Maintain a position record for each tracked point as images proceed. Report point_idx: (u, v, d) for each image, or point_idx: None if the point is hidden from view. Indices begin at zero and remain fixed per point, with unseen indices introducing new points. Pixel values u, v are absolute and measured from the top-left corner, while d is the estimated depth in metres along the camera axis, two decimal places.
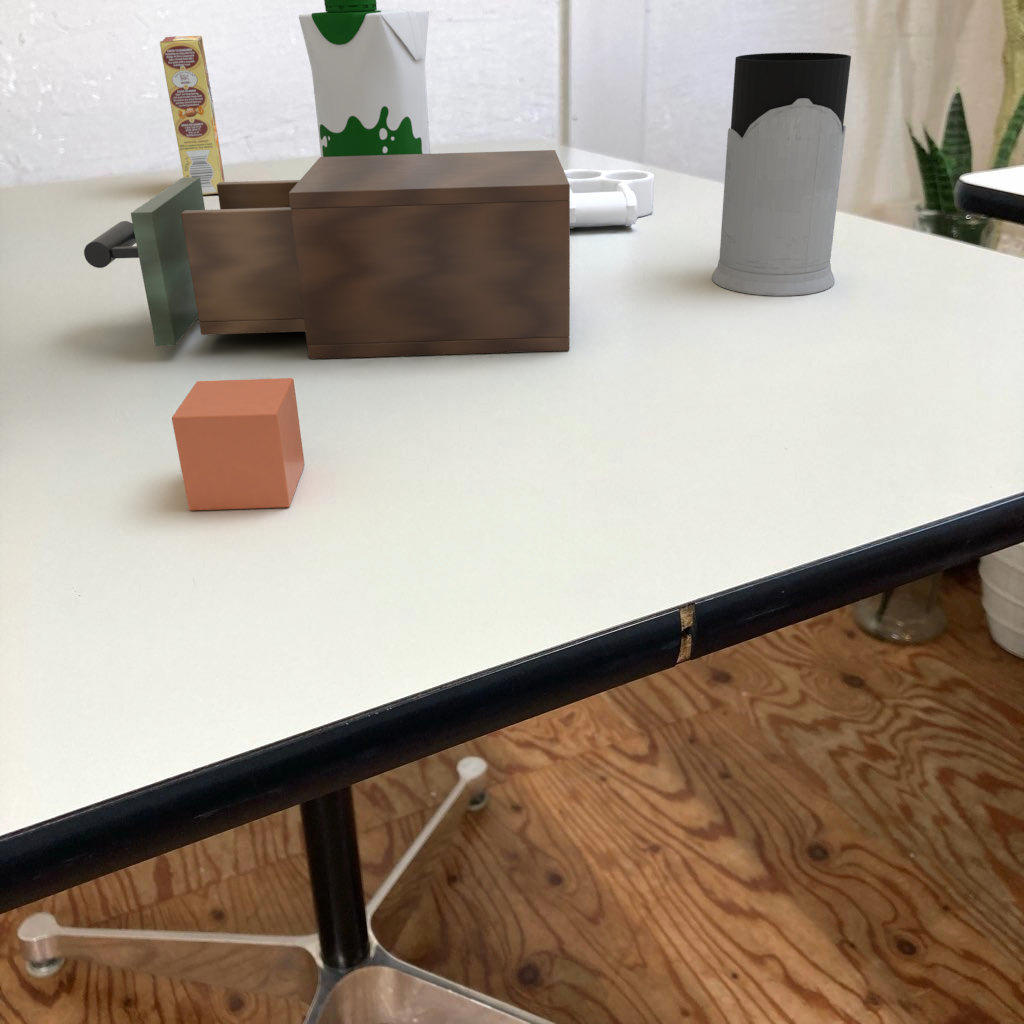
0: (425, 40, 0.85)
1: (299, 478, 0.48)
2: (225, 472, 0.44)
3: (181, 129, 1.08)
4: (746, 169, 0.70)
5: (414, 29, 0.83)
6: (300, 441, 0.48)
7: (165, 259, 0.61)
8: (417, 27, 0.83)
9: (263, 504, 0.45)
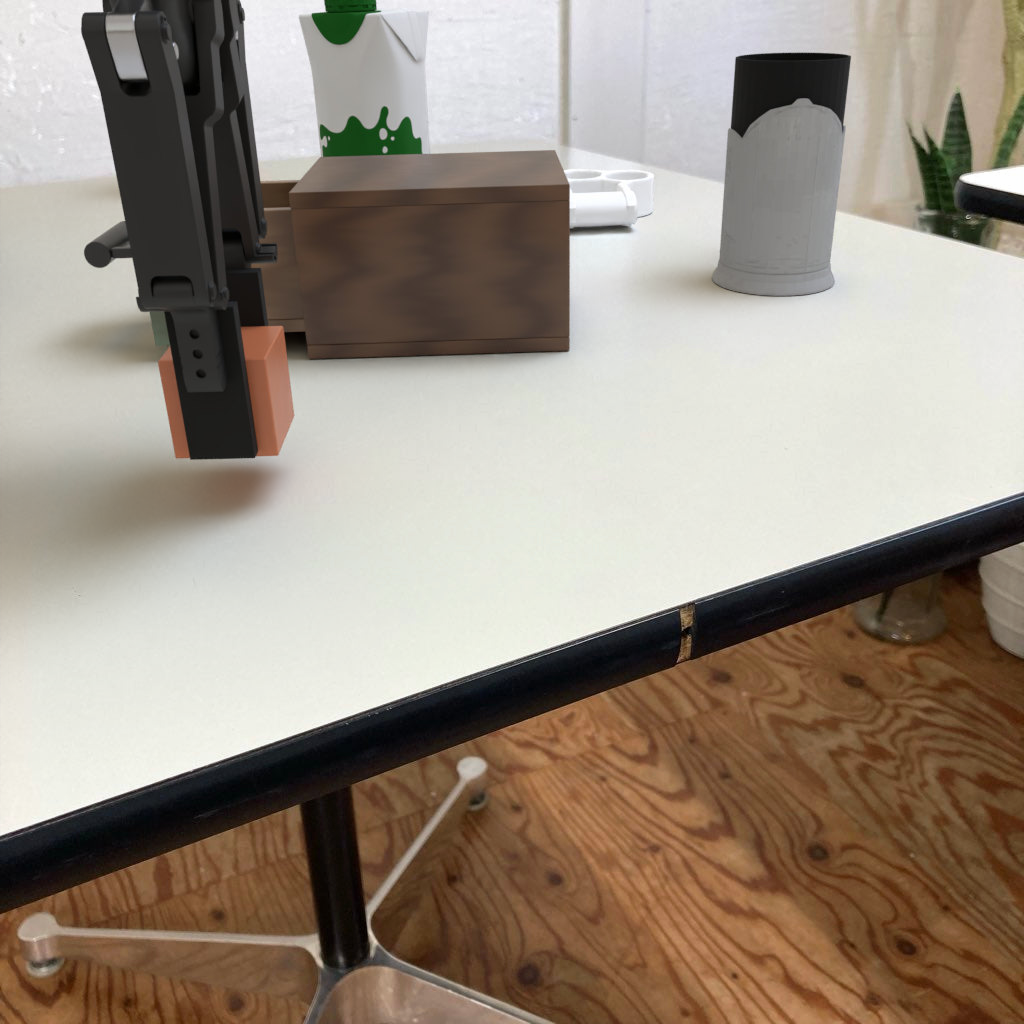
0: (425, 40, 0.85)
1: (288, 428, 0.47)
2: None
3: None
4: (746, 169, 0.70)
5: (414, 29, 0.83)
6: (290, 391, 0.47)
7: None
8: (417, 27, 0.83)
9: None
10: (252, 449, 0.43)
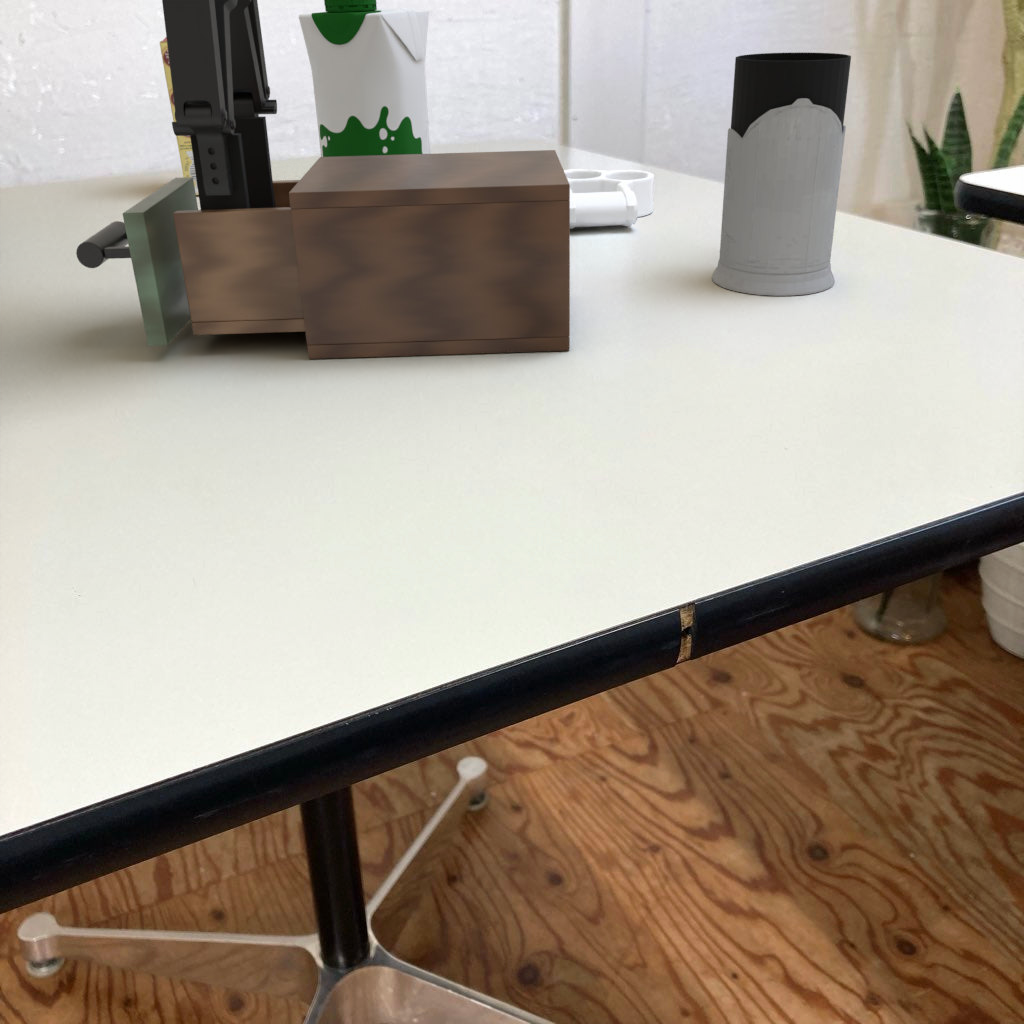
0: (425, 40, 0.85)
1: None
2: None
3: None
4: (746, 169, 0.70)
5: (414, 29, 0.83)
6: None
7: (157, 259, 0.61)
8: (417, 27, 0.83)
9: None
10: None
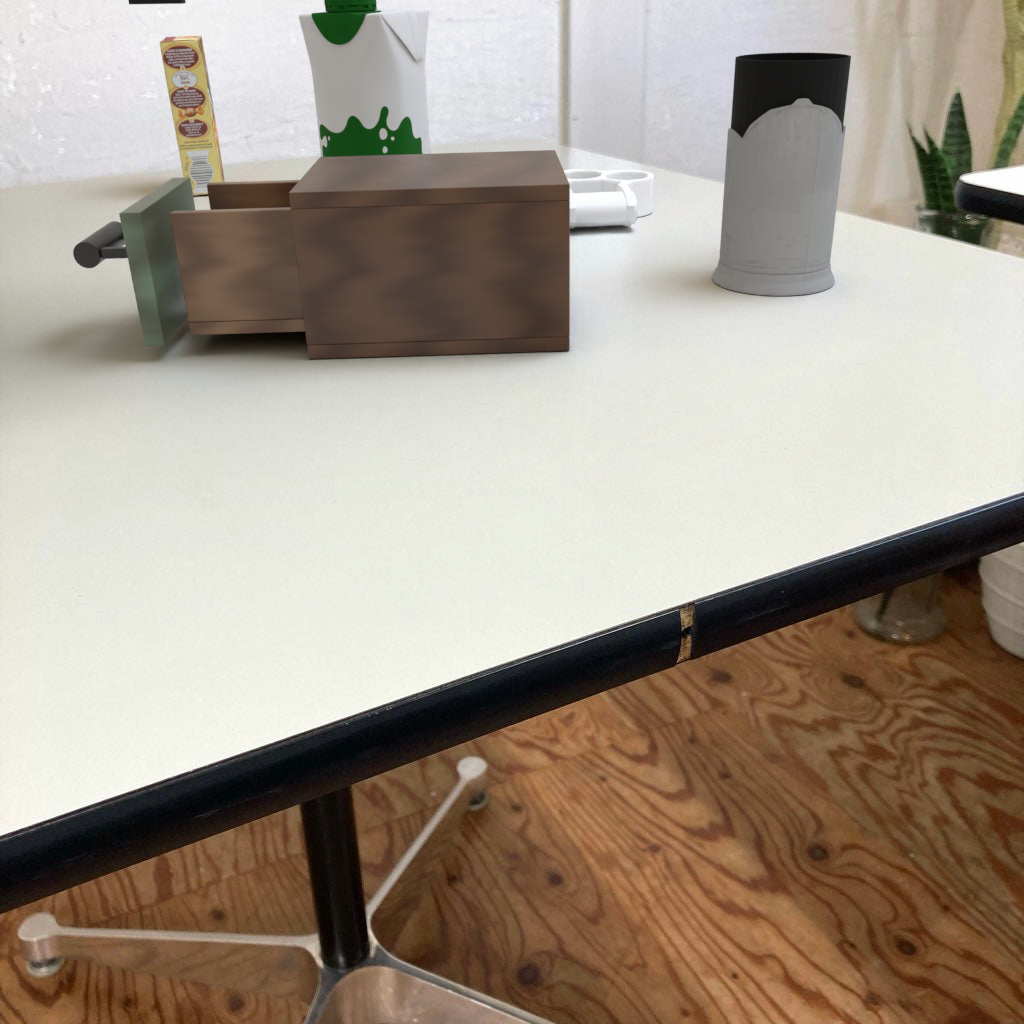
0: (425, 40, 0.85)
1: None
2: None
3: (181, 129, 1.08)
4: (746, 169, 0.70)
5: (414, 29, 0.83)
6: None
7: (154, 259, 0.61)
8: (417, 27, 0.83)
9: None
10: None
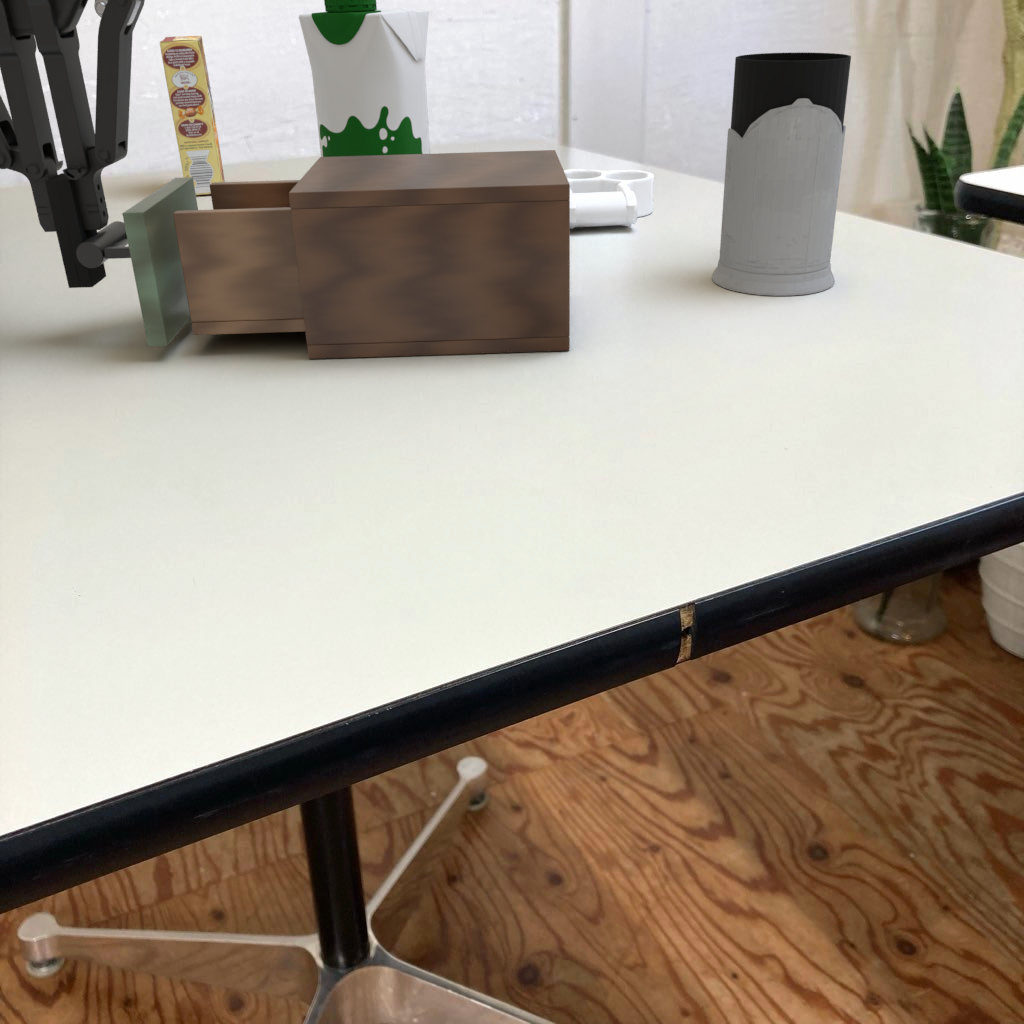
0: (425, 40, 0.85)
1: None
2: None
3: (181, 129, 1.08)
4: (746, 169, 0.70)
5: (414, 29, 0.83)
6: None
7: (157, 259, 0.61)
8: (417, 27, 0.83)
9: None
10: None
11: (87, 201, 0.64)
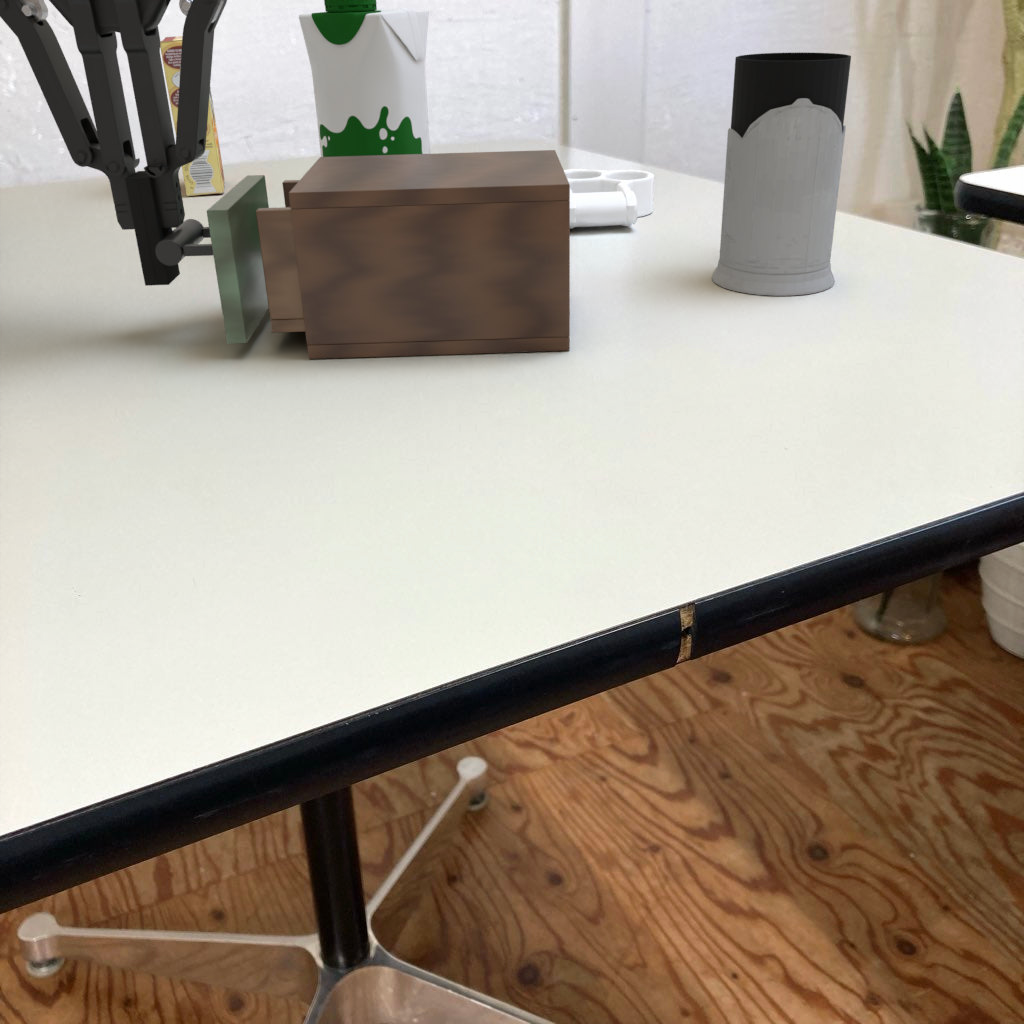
0: (425, 40, 0.85)
1: None
2: None
3: None
4: (746, 169, 0.70)
5: (414, 29, 0.83)
6: None
7: (238, 257, 0.61)
8: (417, 27, 0.83)
9: None
10: (144, 279, 0.65)
11: (165, 199, 0.64)
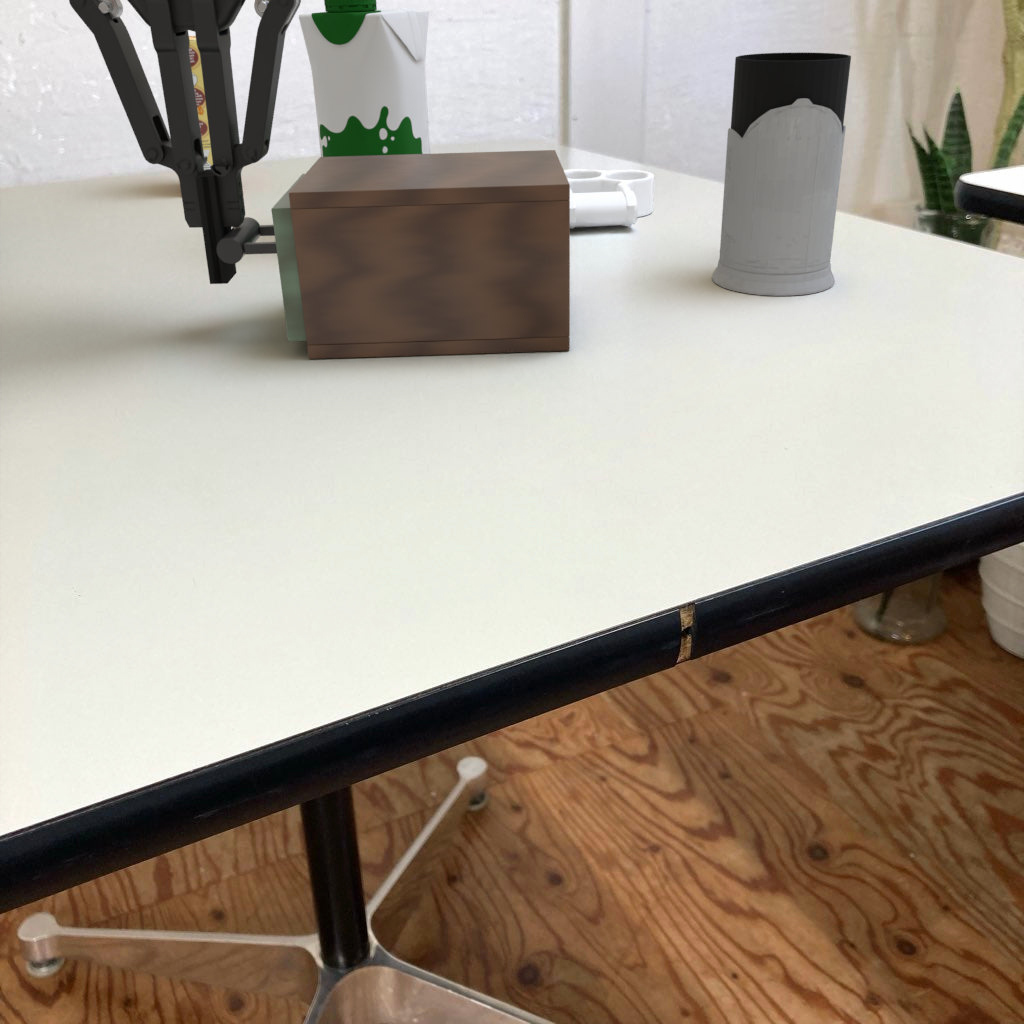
0: (425, 40, 0.85)
1: None
2: None
3: None
4: (746, 169, 0.70)
5: (414, 29, 0.83)
6: None
7: None
8: (417, 27, 0.83)
9: None
10: (209, 277, 0.65)
11: (228, 198, 0.64)
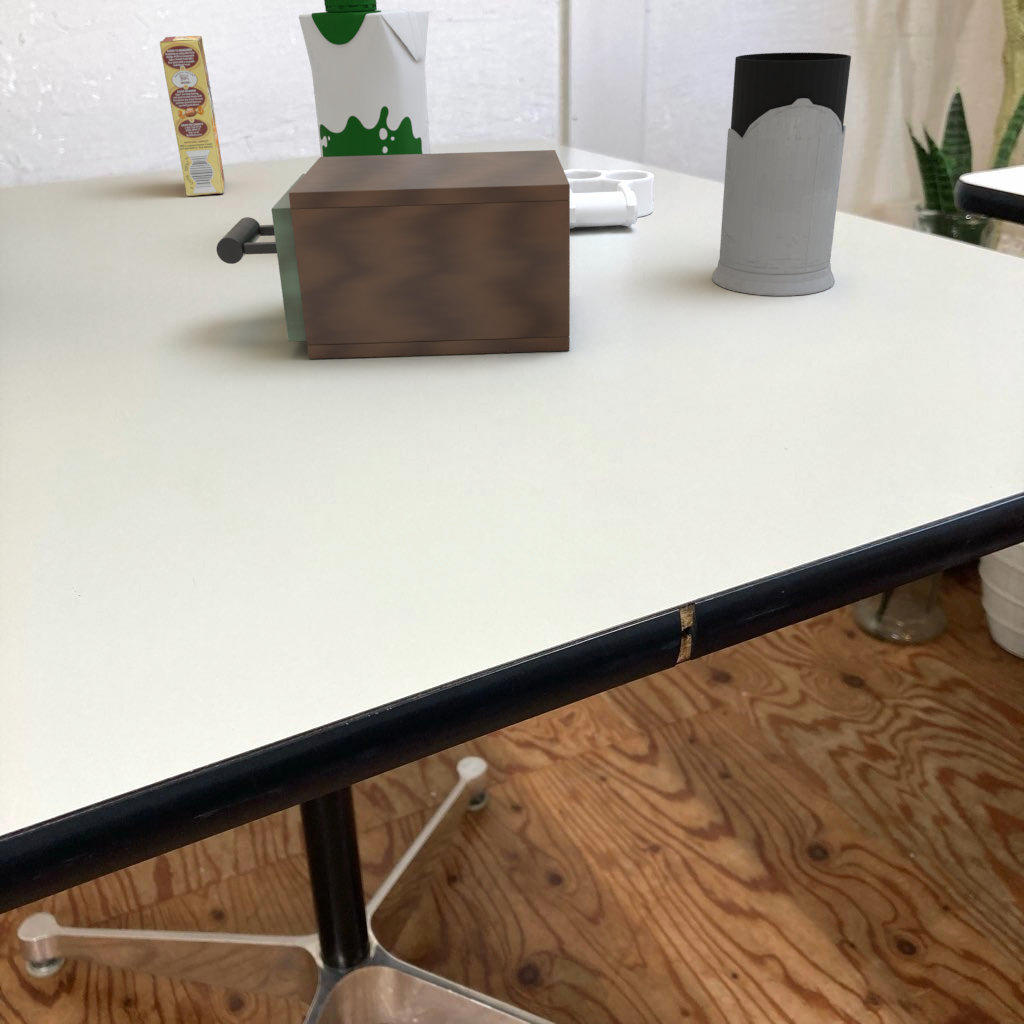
0: (425, 40, 0.85)
1: None
2: None
3: (181, 129, 1.08)
4: (746, 169, 0.70)
5: (414, 29, 0.83)
6: None
7: None
8: (417, 27, 0.83)
9: None
10: None
11: None
